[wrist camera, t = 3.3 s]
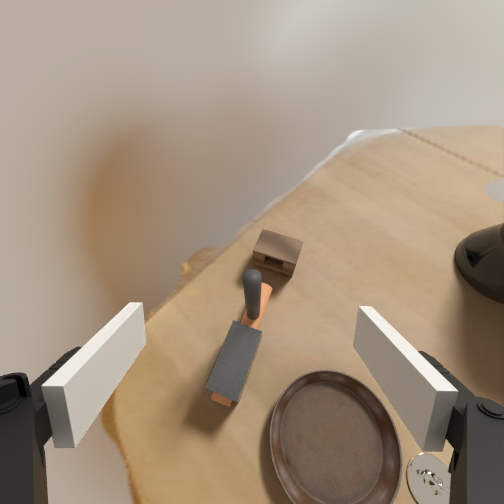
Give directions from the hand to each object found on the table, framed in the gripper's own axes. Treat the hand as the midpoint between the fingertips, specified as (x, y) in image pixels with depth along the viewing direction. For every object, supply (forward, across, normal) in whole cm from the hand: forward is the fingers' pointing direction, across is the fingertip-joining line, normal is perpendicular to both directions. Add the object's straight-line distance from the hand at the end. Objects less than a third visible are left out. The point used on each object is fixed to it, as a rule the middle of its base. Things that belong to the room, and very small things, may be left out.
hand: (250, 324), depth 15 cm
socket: (+35, +5, -6) cm, 36 cm away
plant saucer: (+16, +12, -27) cm, 34 cm away
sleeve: (+22, -2, -20) cm, 30 cm away
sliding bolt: (+23, -1, -16) cm, 28 cm away
